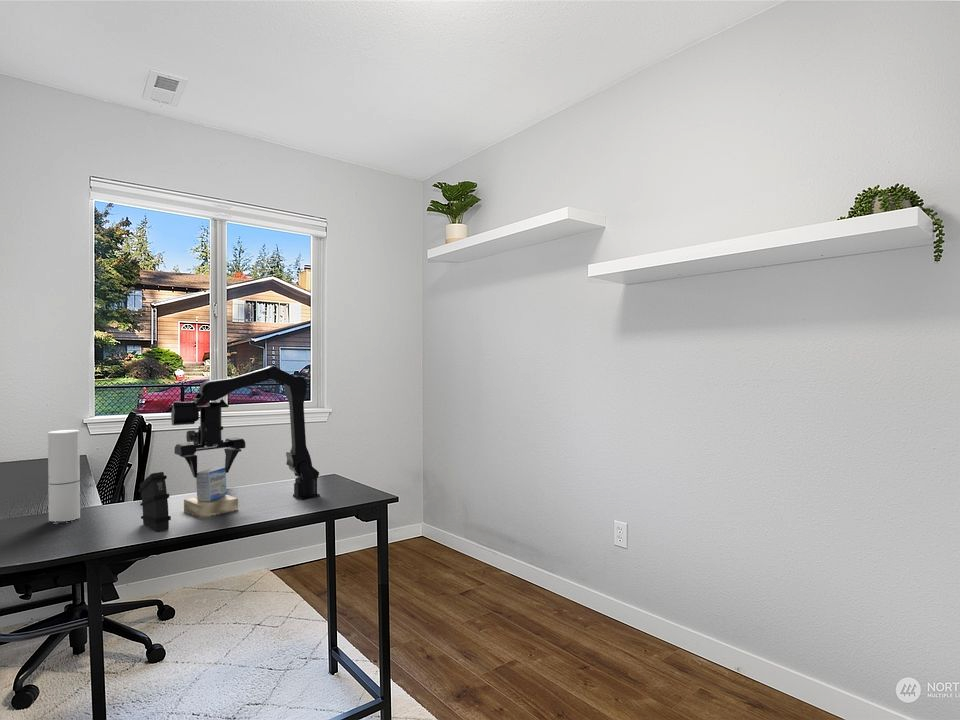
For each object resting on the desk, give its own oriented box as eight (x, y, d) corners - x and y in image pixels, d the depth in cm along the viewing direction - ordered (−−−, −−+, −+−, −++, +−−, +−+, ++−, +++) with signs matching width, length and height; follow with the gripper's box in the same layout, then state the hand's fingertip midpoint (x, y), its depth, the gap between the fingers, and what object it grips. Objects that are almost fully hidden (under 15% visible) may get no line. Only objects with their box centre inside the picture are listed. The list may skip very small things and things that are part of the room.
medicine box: (210, 502, 166) (209, 472, 166) (196, 501, 167) (195, 472, 167) (227, 495, 174) (226, 467, 174) (214, 494, 175) (213, 466, 175)
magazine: (159, 529, 147) (150, 473, 151) (144, 540, 155) (135, 487, 159) (175, 525, 150) (165, 471, 154) (159, 537, 158) (150, 485, 162)
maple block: (220, 505, 178) (220, 492, 178) (237, 511, 171) (237, 498, 171) (184, 512, 170) (183, 499, 170) (200, 519, 163) (200, 505, 163)
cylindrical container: (77, 514, 166) (76, 428, 166) (82, 519, 161) (81, 431, 161) (46, 519, 161) (46, 431, 161) (51, 525, 156) (50, 433, 156)
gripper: (230, 418, 182) (230, 466, 183) (167, 423, 169) (167, 476, 169) (246, 421, 175) (246, 471, 175) (181, 427, 161) (182, 481, 161)
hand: (211, 475), depth 170 cm, fingers open, 9 cm apart
